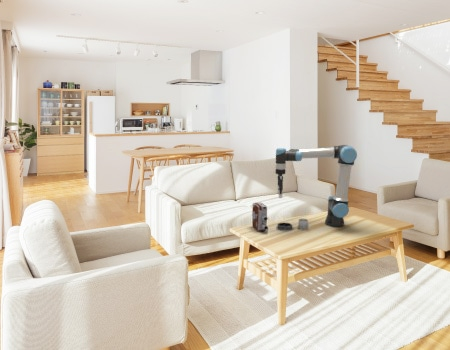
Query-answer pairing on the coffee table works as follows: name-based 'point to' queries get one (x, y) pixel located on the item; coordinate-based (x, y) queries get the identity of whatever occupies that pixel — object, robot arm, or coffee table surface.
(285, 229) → the lens barrel
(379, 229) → the coffee table surface
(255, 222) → the cine camera
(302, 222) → the grey cube
